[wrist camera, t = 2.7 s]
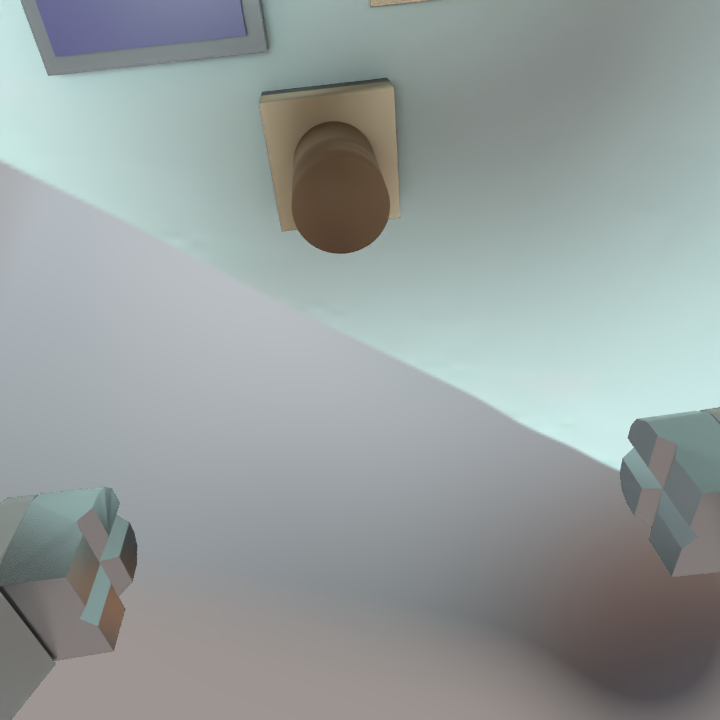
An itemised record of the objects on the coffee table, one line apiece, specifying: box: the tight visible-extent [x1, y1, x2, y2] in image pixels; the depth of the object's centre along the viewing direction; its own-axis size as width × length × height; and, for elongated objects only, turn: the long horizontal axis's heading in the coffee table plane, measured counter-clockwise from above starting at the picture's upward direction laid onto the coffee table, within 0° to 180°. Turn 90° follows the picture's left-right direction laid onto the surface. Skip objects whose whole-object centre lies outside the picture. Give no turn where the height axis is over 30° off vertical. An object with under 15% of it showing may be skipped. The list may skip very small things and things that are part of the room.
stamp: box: [259, 78, 400, 254], centre depth 21 cm, size 5×5×7 cm
